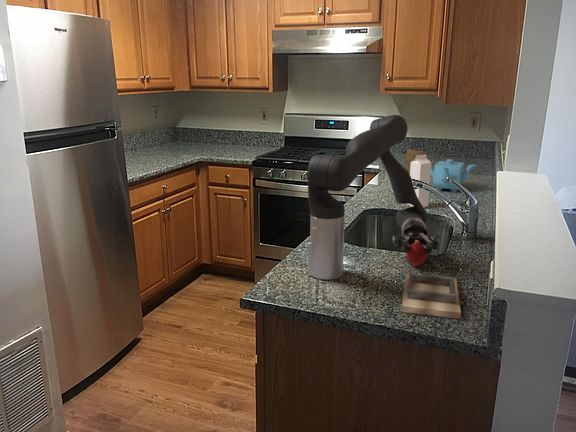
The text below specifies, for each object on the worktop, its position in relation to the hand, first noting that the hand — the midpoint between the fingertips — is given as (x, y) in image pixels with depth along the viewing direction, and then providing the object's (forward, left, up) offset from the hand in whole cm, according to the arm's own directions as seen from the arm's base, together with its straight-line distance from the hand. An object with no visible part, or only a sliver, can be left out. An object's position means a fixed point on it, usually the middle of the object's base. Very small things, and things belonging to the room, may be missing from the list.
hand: (417, 249), depth 135 cm
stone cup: (-6, +138, -6) cm, 138 cm away
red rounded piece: (0, +3, -6) cm, 7 cm away
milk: (-1, +73, -6) cm, 73 cm away
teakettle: (+12, +109, -6) cm, 109 cm away
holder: (+4, -17, -6) cm, 19 cm away
